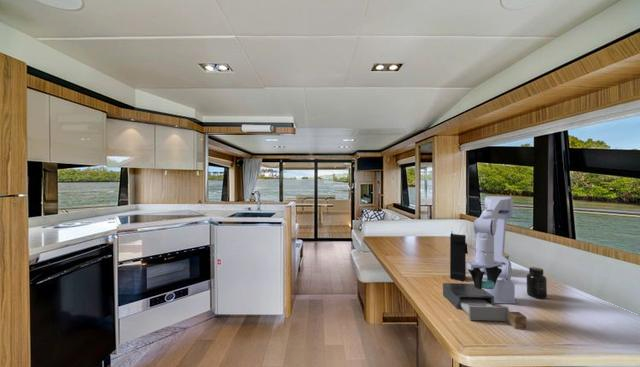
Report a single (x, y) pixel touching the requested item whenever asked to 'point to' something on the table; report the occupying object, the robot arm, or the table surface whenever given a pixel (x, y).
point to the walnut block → (517, 320)
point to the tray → (483, 310)
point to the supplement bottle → (536, 283)
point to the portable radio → (458, 256)
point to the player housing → (464, 293)
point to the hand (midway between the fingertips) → (484, 287)
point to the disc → (487, 284)
